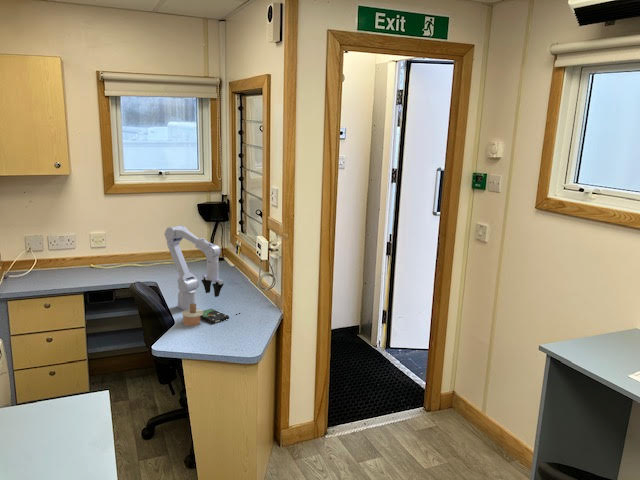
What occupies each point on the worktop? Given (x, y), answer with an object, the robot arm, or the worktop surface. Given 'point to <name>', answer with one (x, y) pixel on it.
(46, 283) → the worktop surface
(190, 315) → the lid
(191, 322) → the bowl
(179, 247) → the robot arm
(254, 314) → the worktop surface
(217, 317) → the disk drive
